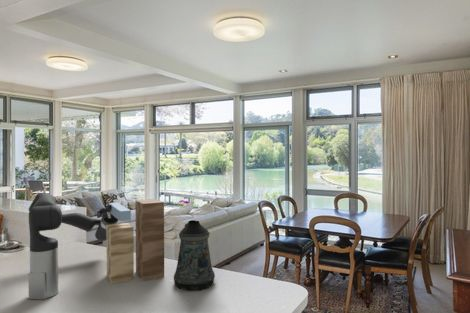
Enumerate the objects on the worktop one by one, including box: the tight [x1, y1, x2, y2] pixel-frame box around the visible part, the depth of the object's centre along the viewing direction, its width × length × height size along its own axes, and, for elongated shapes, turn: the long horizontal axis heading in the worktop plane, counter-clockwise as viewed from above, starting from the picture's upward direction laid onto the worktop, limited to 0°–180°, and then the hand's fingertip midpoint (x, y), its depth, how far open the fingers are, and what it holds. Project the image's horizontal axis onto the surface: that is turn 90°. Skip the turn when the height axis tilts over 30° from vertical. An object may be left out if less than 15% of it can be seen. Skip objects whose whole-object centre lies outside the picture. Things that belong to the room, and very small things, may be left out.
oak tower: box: [106, 222, 135, 284], centre depth 143 cm, size 10×9×22 cm
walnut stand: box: [134, 198, 165, 282], centre depth 147 cm, size 12×9×32 cm
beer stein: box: [173, 220, 216, 292], centre depth 137 cm, size 16×19×25 cm
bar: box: [108, 201, 132, 222], centre depth 144 cm, size 24×4×4 cm, turn 31°
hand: (116, 206), depth 148 cm, fingers closed on bar, 4 cm apart
